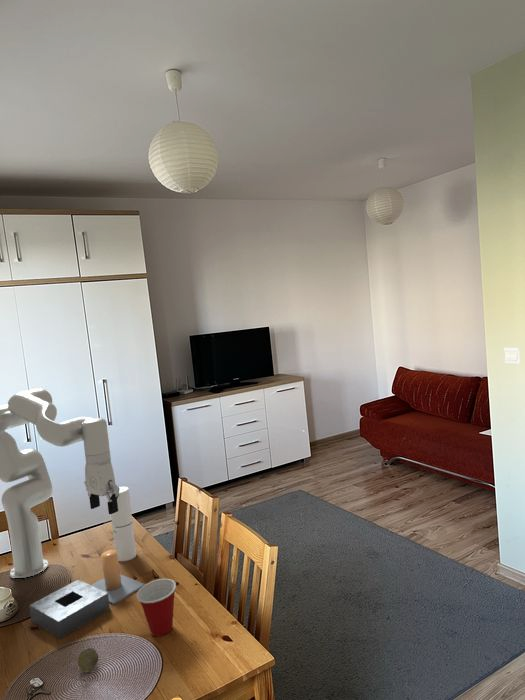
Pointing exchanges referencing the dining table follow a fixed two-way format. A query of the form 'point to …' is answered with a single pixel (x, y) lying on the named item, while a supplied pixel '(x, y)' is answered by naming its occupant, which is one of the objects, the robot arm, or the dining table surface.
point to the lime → (88, 660)
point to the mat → (122, 592)
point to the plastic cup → (158, 605)
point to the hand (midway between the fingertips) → (104, 510)
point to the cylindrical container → (123, 527)
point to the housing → (69, 608)
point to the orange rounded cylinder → (111, 570)
